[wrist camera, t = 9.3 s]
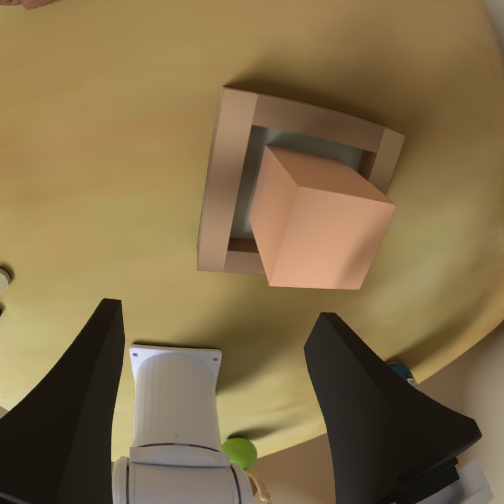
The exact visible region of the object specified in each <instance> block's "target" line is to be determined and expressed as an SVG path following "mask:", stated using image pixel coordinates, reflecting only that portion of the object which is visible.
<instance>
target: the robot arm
mask: <svg viewBox="0 0 504 504" xmlns="http://www.w3.org/2000/svg"><path fill="white" fill-rule="evenodd" d="M124 346H125V334H124V325H123V315H122V304H121V300H116V299H107V298H104V299H103V300H101V302H100V304H99V305H98V307H97V308H96V310H95V311H94V313H93V314H92V316H91V317H90V319H89V320H88V322H87V323H86V325H85V326H84V328H83V329H82V330H81V332H80V333H79V334H78V336H77V337H76V339H75V340H74V341H73V343H72V344H71V345H70V347H69V348H68V349H67V350H66V352H65V353H64V354H63V355H62V357H61V358H60V359H59V361H58V362H57V363H56V364H55V365H54V367H53V368H52V369H51V370H50V371H49V372H48V374H47V375H46V376H45V377H44V378H43V379H42V380H41V381H40V382H39V383H38V385H37V386H36V387H35V388H34V389H33V390H32V391H31V392H30V393H29V394H28V395H27V396H26V397H25V398H24V399H23V400H21V401H20V402H19V403H18V404H17V405H16V406H15V407H14V408H12V409H11V410H10V411H9V412H8V413H7V414H5V416H3V417H2V418H1V419H0V504H254V500H253V492H252V487H251V483H250V480H249V478H248V476H247V474H246V472H245V471H244V470H243V469H242V468H241V467H240V466H239V465H238V464H237V463H234V462H230V460H229V453H227V452H222V447H221V439H220V431H219V423H218V414H217V405H216V395H215V387H216V383H217V378H218V373H219V368H220V364H221V359H222V352H221V351H220V350H217V349H193V348H174V347H159V346H146V345H131V346H130V350H129V351H130V357H131V363H132V369H133V375H134V380H135V386H136V390H135V404H134V420H133V442H132V447H130V461H129V458H128V457H127V456H121V457H120V459H118V460H117V461H116V462H115V463H114V467H113V474H112V477H111V434H112V421H113V414H114V408H115V403H116V397H117V392H118V386H119V381H120V376H121V371H122V366H123V356H124ZM304 352H305V358H306V363H307V368H308V372H309V375H310V378H311V381H312V384H313V387H314V390H315V393H316V396H317V399H318V402H319V405H320V408H321V411H322V414H323V417H324V420H325V424H326V428H327V433H328V438H329V443H330V448H331V454H332V460H333V469H334V478H335V491H336V492H335V493H336V504H488V503H489V502H491V501H492V500H493V499H494V495H493V493H492V490H491V488H490V485H489V483H488V481H487V478H486V476H485V474H484V471H483V469H482V467H481V465H480V463H479V460H478V458H474V459H473V460H471V461H470V462H468V463H467V464H465V465H463V466H462V467H460V468H458V469H457V470H456V468H455V466H454V465H456V464H458V460H457V458H456V456H458V455H459V454H461V453H462V452H463V451H465V450H466V449H468V448H469V447H470V446H472V445H473V444H474V443H476V442H477V441H478V440H479V439H480V438H481V437H482V434H481V432H480V430H479V428H478V426H477V424H476V422H475V420H474V419H472V418H469V417H467V416H464V415H462V414H460V413H457V412H455V411H453V410H451V409H449V408H447V407H445V406H443V405H441V404H440V403H438V402H436V401H434V400H433V399H431V398H430V397H428V396H427V395H425V394H424V393H422V392H421V391H419V390H418V389H416V388H415V387H414V386H412V385H411V384H410V383H408V382H407V381H406V380H404V379H403V378H402V377H401V376H399V375H398V374H397V373H396V372H395V371H394V370H392V369H391V368H390V367H389V366H388V365H387V364H386V363H385V362H384V361H383V360H381V359H380V358H379V357H378V356H377V355H376V354H375V353H374V352H373V351H372V350H371V349H370V348H369V347H368V346H367V345H366V344H365V343H364V342H363V341H362V340H361V339H360V338H359V336H358V335H357V334H356V333H355V332H354V331H353V330H352V329H351V328H350V327H349V326H348V325H347V324H346V323H345V322H344V321H343V320H342V319H341V318H340V317H339V316H338V315H337V314H336V313H328V312H321V313H320V315H319V317H318V319H317V322H316V324H315V326H314V328H313V330H312V332H311V334H310V336H309V338H308V340H307V342H306V344H305V346H304Z"/></svg>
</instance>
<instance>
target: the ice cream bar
mask: <svg viewBox="0 0 504 504" xmlns="http://www.w3.org/2000/svg"><path fill="white" fill-rule="evenodd" d="M9 284H10V277H9V275H8V273H7V272H6V271H4V270H3V269H0V293H1V292H2V291H4V290H5V289H6V288H7V287H8V286H9ZM1 314H2V310H1V309H0V316H1Z"/></svg>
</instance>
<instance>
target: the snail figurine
mask: <svg viewBox="0 0 504 504" xmlns="http://www.w3.org/2000/svg"><path fill="white" fill-rule="evenodd" d="M221 447H222V452H227V453H229V460H230V462H234V463H237V464H238V465H239V466H240V467H241V468H242V469H243V470H244V471H245V472H246V474H247V476H248V478H249V480H250V483H251V487H252V492H253V497H254V496H255V494H256V492H257V489H258V491H259V493H260V499H261V500H263V501H268V500H270V494H269V492H268V491H267V488H266V486H265V484H264V482H263V480H262V478H261V477H260V475H259V474H258V473H257V472H255V471H253V470H248V469H250V468H251V467H252V466H253V465H254V463H255V462H256V460H257V450H256V448H255V446H254V445H253V444H252V443H251V442H250V441H249V440H247V439H244V438H240V437H236V438H231V439H228V440H227V441H225V442H224V443H223V444H222V445H221ZM268 504H269V503H268Z"/></svg>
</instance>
